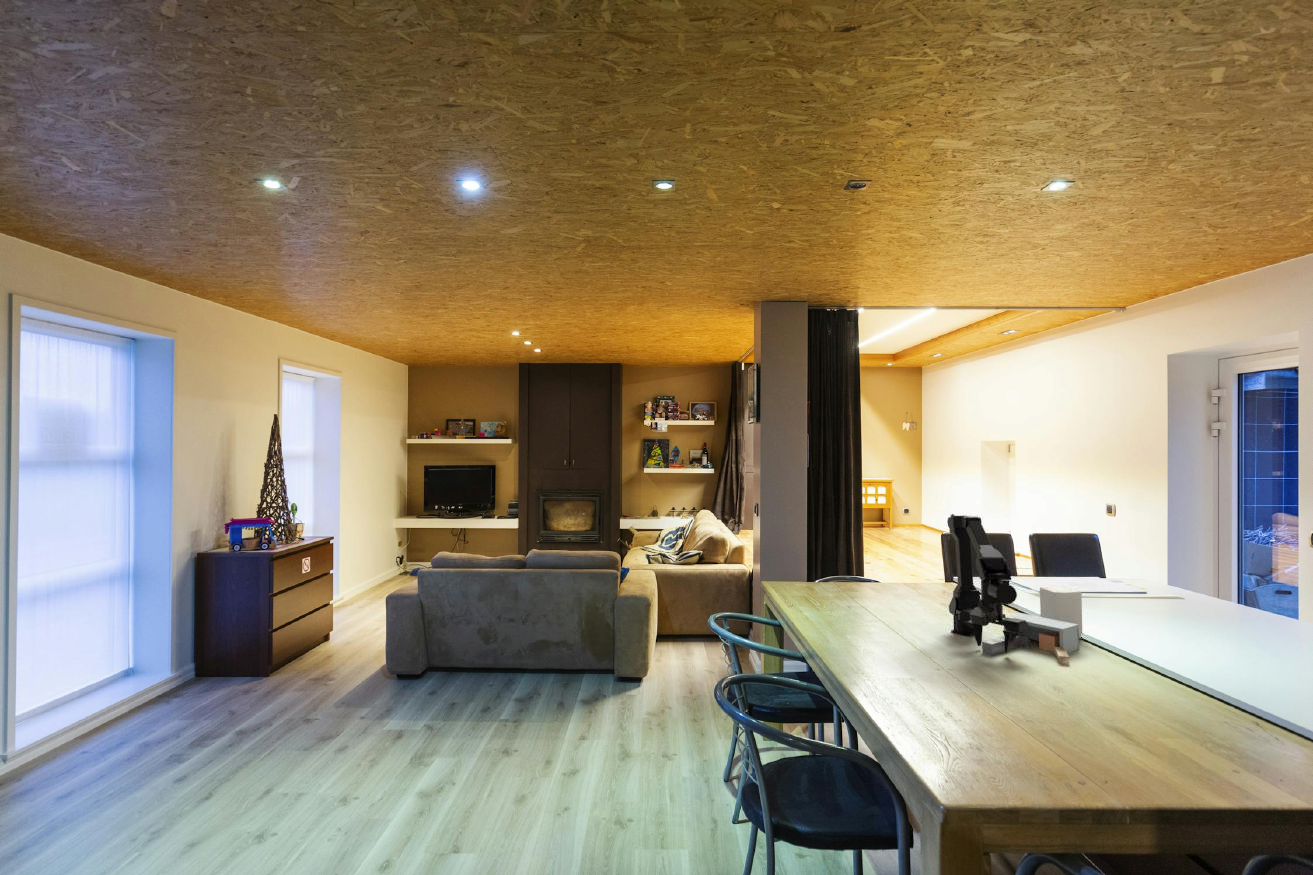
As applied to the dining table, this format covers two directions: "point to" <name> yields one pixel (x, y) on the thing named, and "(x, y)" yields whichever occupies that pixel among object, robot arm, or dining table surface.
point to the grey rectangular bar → (998, 644)
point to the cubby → (1050, 630)
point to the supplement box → (1061, 605)
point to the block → (1049, 641)
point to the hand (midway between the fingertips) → (992, 648)
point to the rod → (1061, 655)
